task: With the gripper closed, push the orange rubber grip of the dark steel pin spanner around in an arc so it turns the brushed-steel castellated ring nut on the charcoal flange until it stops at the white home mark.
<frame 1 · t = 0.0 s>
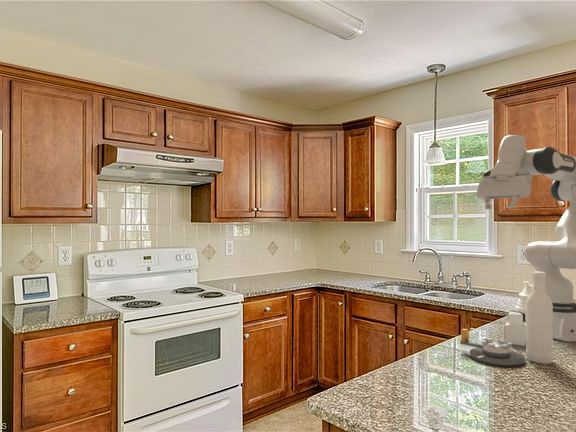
hand: (498, 208, 161), 52 cm above the worktop, tool tilted 20°, fingers open, 8 cm apart
ring nut: (485, 342, 151), point 5 cm above the worktop, hinge at 0.0°
medicine bottle: (516, 343, 168), on the worktop
flange: (496, 358, 148), on the worktop
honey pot: (530, 319, 209), on the worktop
bottle: (539, 360, 147), on the worktop
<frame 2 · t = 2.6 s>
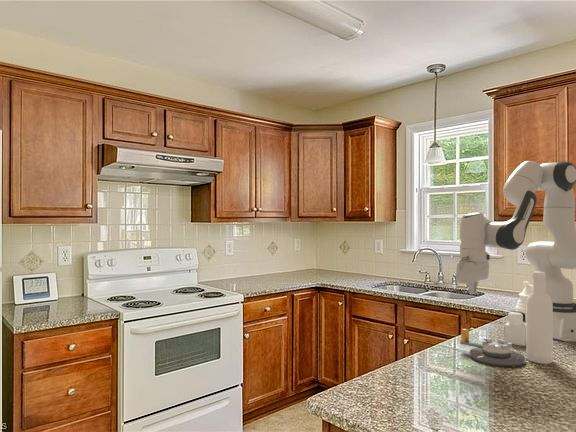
hand: (472, 293, 160), 20 cm above the worktop, tool pointing down, fingers closed
nothing on the worktop moved.
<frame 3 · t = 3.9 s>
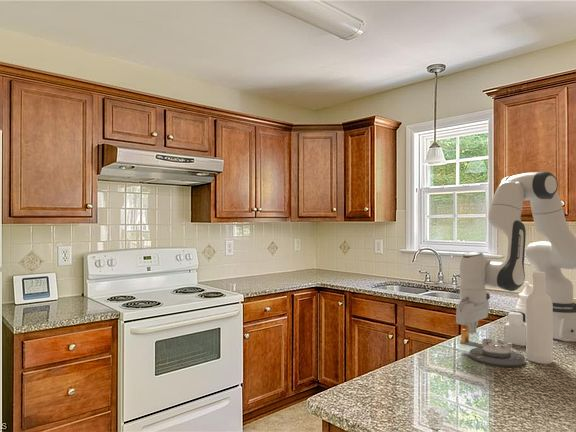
hand: (472, 333, 160), 6 cm above the worktop, tool pointing down, fingers closed
nothing on the worktop moved.
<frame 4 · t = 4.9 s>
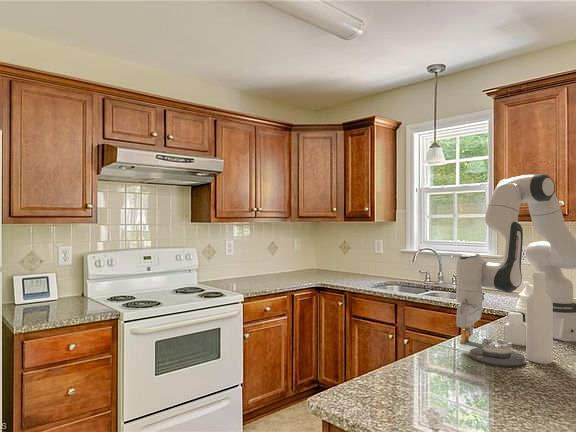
hand: (469, 335, 158), 5 cm above the worktop, tool pointing down, fingers closed
ring nut: (485, 342, 151), point 5 cm above the worktop, hinge at 0.0°, touching gripper
everything else where it was.
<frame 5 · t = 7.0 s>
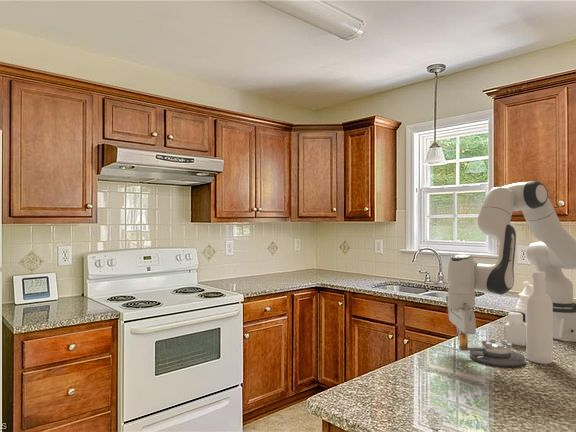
hand: (461, 340, 152), 5 cm above the worktop, tool pointing down, fingers closed
ring nut: (484, 344, 148), point 5 cm above the worktop, hinge at 41.9°, touching gripper
everything else where it was.
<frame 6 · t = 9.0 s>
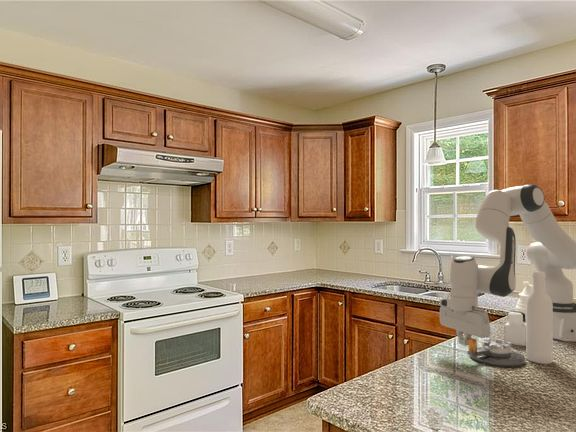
hand: (463, 344, 147), 5 cm above the worktop, tool pointing down, fingers closed
ring nut: (488, 345, 146), point 5 cm above the worktop, hinge at 70.2°
everything else where it was.
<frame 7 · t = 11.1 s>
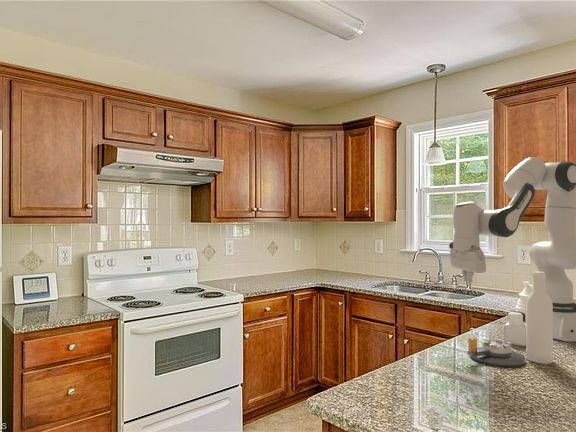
hand: (468, 282, 161), 24 cm above the worktop, tool pointing down, fingers closed
nothing on the worktop moved.
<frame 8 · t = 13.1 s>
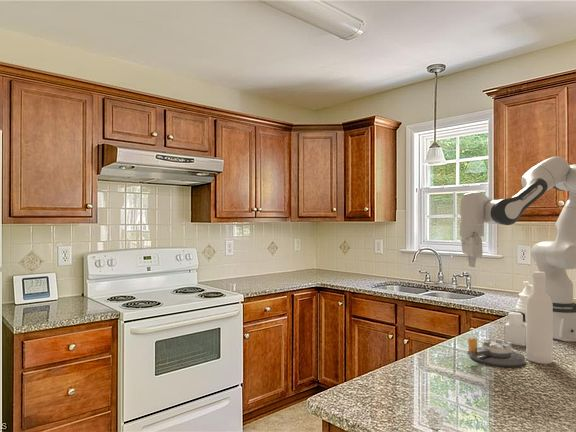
hand: (471, 266, 172), 29 cm above the worktop, tool pointing down, fingers closed
nothing on the worktop moved.
at the end: ring nut at +70° (first picture: +0°); bottle moved 0.2 cm from its start; medicine bottle moved 0.2 cm from its start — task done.
